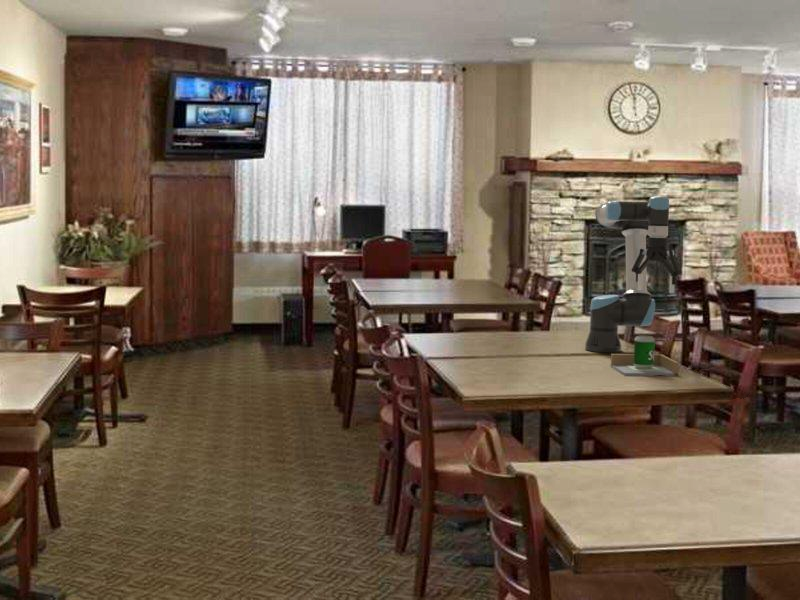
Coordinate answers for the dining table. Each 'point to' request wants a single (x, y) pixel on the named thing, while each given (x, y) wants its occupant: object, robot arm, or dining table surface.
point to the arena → (660, 362)
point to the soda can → (644, 352)
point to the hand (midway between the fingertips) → (655, 291)
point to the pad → (643, 369)
